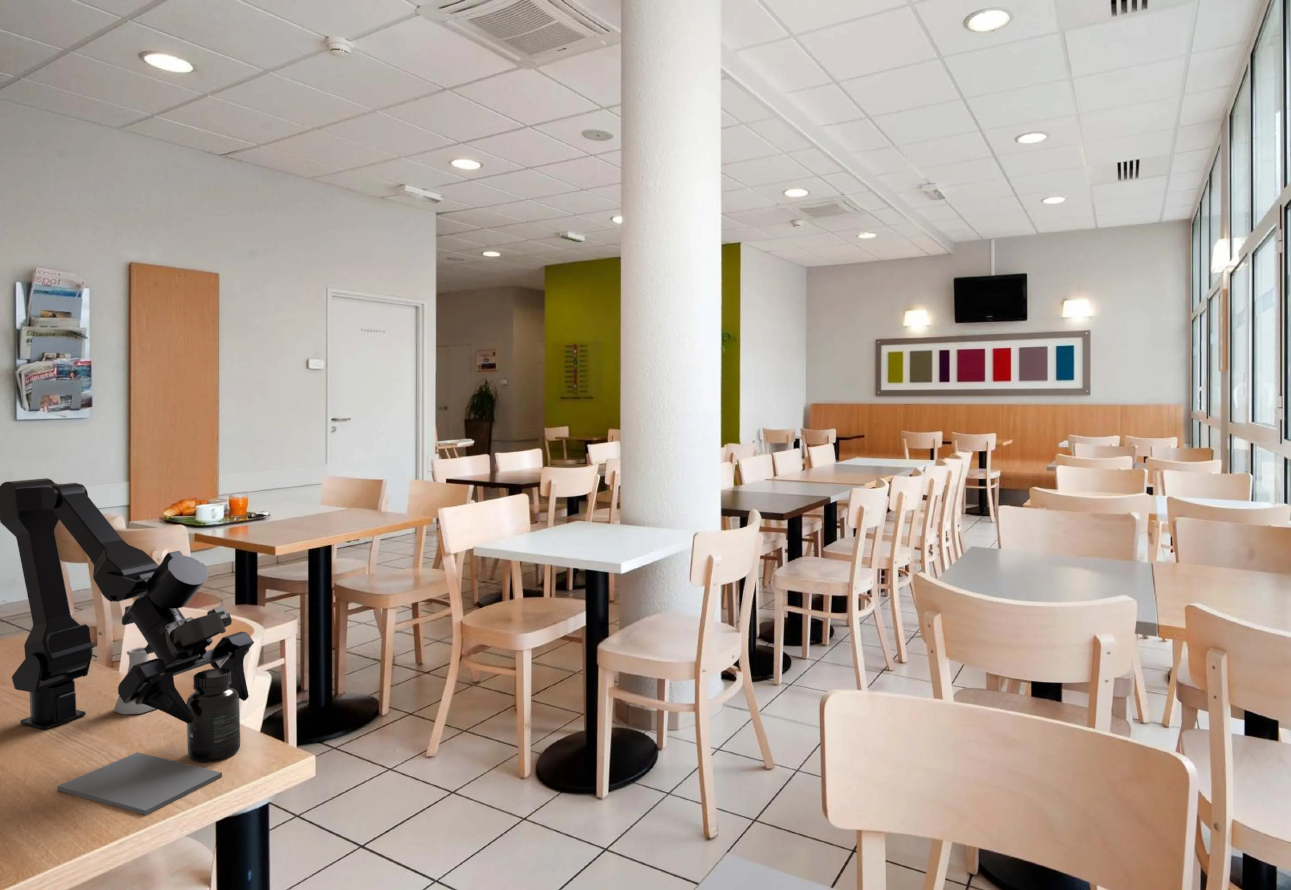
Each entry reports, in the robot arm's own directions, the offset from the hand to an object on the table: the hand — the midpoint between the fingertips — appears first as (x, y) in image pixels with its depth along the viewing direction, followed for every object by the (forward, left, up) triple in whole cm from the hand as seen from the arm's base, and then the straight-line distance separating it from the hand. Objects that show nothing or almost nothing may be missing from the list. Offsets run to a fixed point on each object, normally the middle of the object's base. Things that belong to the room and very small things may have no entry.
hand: (219, 709), depth 116 cm
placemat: (-2, -10, -7) cm, 13 cm away
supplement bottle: (-1, 0, -7) cm, 7 cm away
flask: (-28, +8, -7) cm, 30 cm away
